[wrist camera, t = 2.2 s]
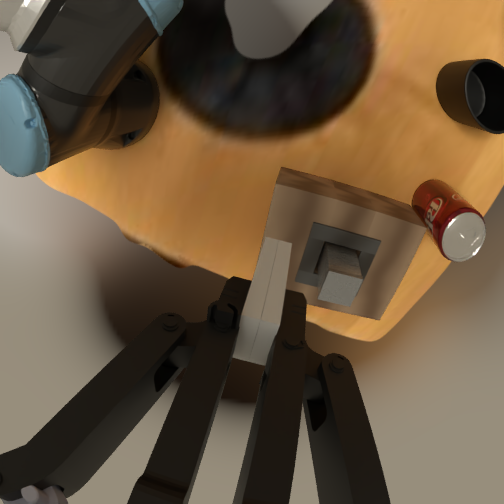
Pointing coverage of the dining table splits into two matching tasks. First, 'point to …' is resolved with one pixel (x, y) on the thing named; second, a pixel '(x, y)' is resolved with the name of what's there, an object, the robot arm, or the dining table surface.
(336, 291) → the peg
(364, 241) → the socket block
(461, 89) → the mug
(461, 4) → the dining table surface
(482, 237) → the soda can
